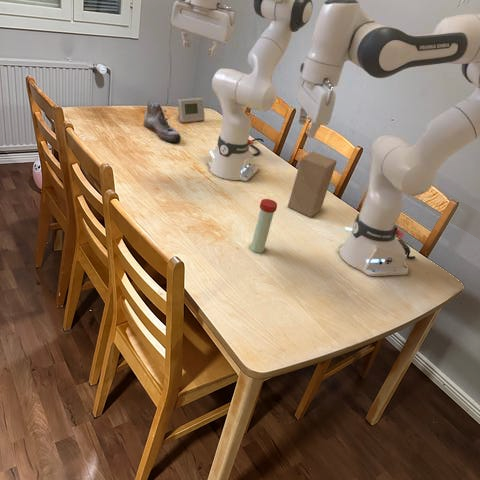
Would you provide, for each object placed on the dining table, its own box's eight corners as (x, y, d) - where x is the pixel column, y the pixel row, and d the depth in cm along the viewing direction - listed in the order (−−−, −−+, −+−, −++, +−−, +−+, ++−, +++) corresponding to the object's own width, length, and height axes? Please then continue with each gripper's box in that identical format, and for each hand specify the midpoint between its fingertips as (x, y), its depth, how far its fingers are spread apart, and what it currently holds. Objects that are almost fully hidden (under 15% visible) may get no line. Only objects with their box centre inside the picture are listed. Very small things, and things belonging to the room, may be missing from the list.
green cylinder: (249, 249, 135) (260, 204, 126) (253, 243, 138) (264, 199, 130) (261, 254, 134) (273, 209, 126) (265, 247, 137) (277, 203, 129)
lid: (257, 209, 127) (258, 203, 126) (262, 202, 131) (263, 197, 130) (273, 214, 126) (274, 208, 125) (277, 207, 130) (279, 202, 129)
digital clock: (179, 123, 216) (182, 102, 211) (171, 117, 222) (173, 96, 216) (207, 123, 225) (211, 102, 220) (199, 116, 231) (202, 96, 225)
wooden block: (310, 217, 160) (327, 167, 149) (286, 207, 163) (301, 157, 153) (321, 209, 167) (337, 160, 157) (298, 198, 171) (312, 150, 160)
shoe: (184, 144, 195) (187, 117, 189) (160, 144, 190) (163, 116, 183) (163, 123, 212) (165, 98, 206) (141, 123, 207) (143, 97, 200)
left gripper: (242, 8, 122) (233, 60, 129) (184, -8, 129) (179, 42, 137) (230, 7, 117) (221, 61, 124) (170, -10, 125) (165, 42, 132)
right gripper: (347, 88, 96) (328, 147, 104) (322, 66, 113) (307, 118, 121) (320, 83, 95) (303, 143, 102) (299, 62, 112) (285, 115, 119)
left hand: (198, 51), depth 131 cm, fingers open, 8 cm apart
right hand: (305, 129), depth 112 cm, fingers open, 8 cm apart
